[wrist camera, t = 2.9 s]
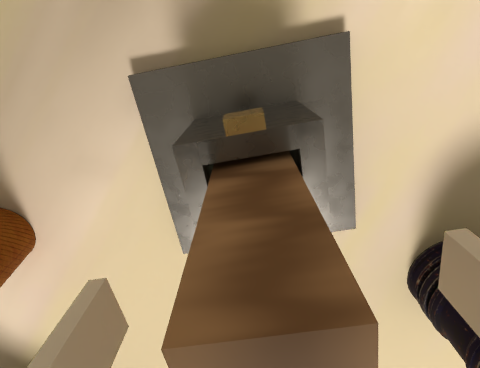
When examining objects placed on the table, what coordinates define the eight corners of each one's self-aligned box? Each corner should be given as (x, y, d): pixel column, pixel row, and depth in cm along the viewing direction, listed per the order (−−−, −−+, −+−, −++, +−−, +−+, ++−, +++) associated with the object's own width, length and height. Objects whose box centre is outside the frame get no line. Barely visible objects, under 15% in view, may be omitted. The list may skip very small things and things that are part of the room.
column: (230, 192, 27) (206, 465, 9) (219, 138, 25) (155, 346, 7) (285, 183, 27) (381, 450, 8) (278, 128, 25) (383, 319, 6)
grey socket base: (186, 245, 32) (163, 319, 23) (134, 75, 25) (71, 82, 16) (350, 220, 31) (397, 289, 21) (343, 33, 24) (407, 14, 14)
